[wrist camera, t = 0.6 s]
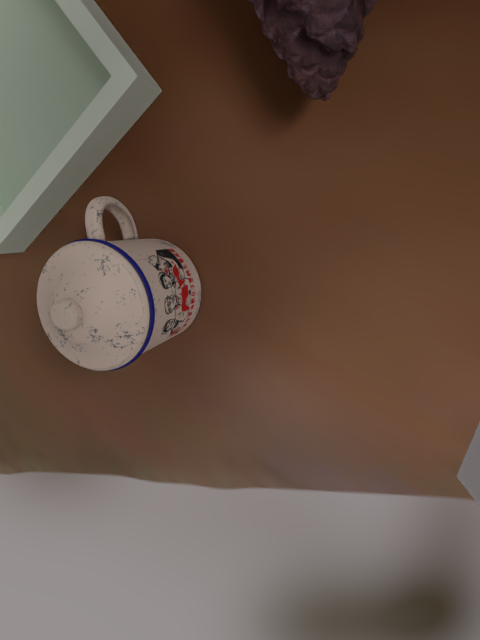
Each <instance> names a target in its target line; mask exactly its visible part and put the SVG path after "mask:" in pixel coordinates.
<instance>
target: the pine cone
mask: <svg viewBox="0 0 480 640" xmlns="http://www.w3.org/2000/svg"><path fill="white" fill-rule="evenodd" d="M248 1H249V2H251V3H252V4H253V5H254V6H255V13H256V15H257V17H258V18H259V19H260V20H261V22H262V32H263V33H264V34H265V36H266V37H267V38H268V39H269V41H270V42H271V44H272V47H273V49H274V51H275V53H276V54H277V56H278V57H279V58H280V59H282V60H285V62H286V63H287V73H288V76H289V77H290V78H292V79H294V81H295V83H296V84H298V85H300V88H301V91H302V92H303V93H304V94H309V97H310V98H311V99H316V100H317V99H321V100H324V101H326V100H327V99H329V98H330V93H331V92H332V91H333V90H335V89H336V87H337V85H338V80H339V76H341V75H343V74H344V71H345V68H346V66H347V61H348V60H349V59H351V58H352V57H354V55H355V53H356V51H357V46H358V43H359V42H360V41H361V40H362V39H363V34H364V28H363V24H362V23H363V21H364V18H365V16H366V15H368V14H369V13H370V12H371V10H372V8H373V6H374V4H375V2H376V1H377V0H248Z"/></svg>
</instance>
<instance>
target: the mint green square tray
mask: <svg viewBox="0 0 480 640" xmlns="http://www.w3.org/2000/svg"><path fill="white" fill-rule="evenodd" d="M161 92H162V90H161V88H160V87H159V86H158V84H157V83H156V82H155V80H154V79H153V78H152V76H151V75H150V74H149V72H148V71H147V70H146V68H145V67H144V66H143V64H142V63H141V62H140V60H139V59H138V58H137V56H136V55H135V54H134V52H133V51H132V50H131V49H130V47H129V46H128V45H127V43H126V42H125V41H124V39H123V38H122V37H121V35H120V34H119V33H118V31H117V30H116V29H115V27H114V26H113V25H112V23H111V22H110V21H109V19H108V18H107V17H106V15H105V14H104V13H103V11H102V10H101V9H100V7H99V6H98V5H97V3H96V2H95V1H94V0H0V254H6V253H19V252H24V251H25V250H26V249H27V248H28V247H29V246H30V244H31V243H32V242H33V241H34V240H35V239H36V237H37V236H38V235H39V234H40V233H41V232H42V230H43V229H44V228H45V227H46V226H47V225H48V223H49V222H50V221H51V220H52V219H53V218H54V216H55V215H56V214H57V213H58V212H59V211H60V209H61V208H62V207H63V206H64V205H65V204H66V202H67V201H68V200H69V199H70V198H71V197H72V195H73V194H74V193H75V192H76V191H77V190H78V189H79V187H80V186H81V185H82V184H83V183H84V182H85V180H86V179H87V178H88V177H89V176H90V175H91V173H92V172H93V171H94V170H95V169H96V168H97V166H98V165H99V164H100V163H101V162H102V161H103V159H104V158H105V157H106V156H107V155H108V154H109V152H110V151H111V150H112V149H113V148H114V147H115V145H116V144H117V143H118V142H119V141H120V140H121V138H122V137H123V136H124V135H125V134H126V133H127V132H128V130H129V129H130V128H131V127H132V126H133V125H134V123H135V122H136V121H137V120H138V119H139V118H140V116H141V115H142V114H143V113H144V112H145V111H146V109H147V108H148V107H149V106H150V105H151V104H152V102H153V101H154V100H155V99H156V98H157V97H158V95H159V94H160V93H161Z"/></svg>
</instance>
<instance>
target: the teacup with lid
mask: <svg viewBox="0 0 480 640" xmlns="http://www.w3.org/2000/svg"><path fill="white" fill-rule="evenodd" d="M104 209H107V210H108V211H109V212H111V213H112V214H113V215H114V217H115V218H116V220H117V221H118V223H119V226H120V229H121V232H122V236H123V240H117V241H106V238H105V234H104V229H103V221H102V216H103V211H104ZM85 226H86V232H87V237H88V239H80V240H76V241H73V242H70V243H68V244H66V245H65V246H63V247H62V248H60V249H59V250H57V251H56V252H55V253H54V254H53V255H52V256H51V257H50V258H49V260H48V261H47V262H46V264H45V266H44V268H43V270H42V272H41V275H40V277H39V281H38V287H37V307H38V313H39V317H40V320H41V323H42V326H43V328H44V330H45V332H46V334H47V336H48V338H49V339H50V341H51V342H52V344H53V345H54V346H55V347H56V349H57V350H58V351H59V352H60V353H61V354H62V355H64V356H65V357H66V358H67V359H69V360H70V361H72V362H73V363H75V364H77V365H79V366H81V367H84V368H87V369H91V370H97V371H110V370H116V369H120V368H123V367H125V366H127V365H129V364H130V363H132V362H133V361H135V360H136V359H137V358H138V357H139V356H140V355H141V354H142V353H144V352H146V351H148V350H150V349H152V348H153V347H155V346H157V345H159V344H161V343H163V342H165V341H167V340H168V339H170V338H172V337H174V336H176V335H178V334H180V333H181V332H183V331H184V330H185V329H186V328H187V327H188V326H189V325H190V324H191V323H192V322H193V320H194V319H195V317H196V315H197V312H198V310H199V306H200V302H201V284H200V279H199V276H198V273H197V270H196V268H195V266H194V265H193V263H192V261H191V260H190V259H189V257H188V256H187V255H186V254H185V253H184V252H183V251H182V250H181V249H180V248H178V247H177V246H175V245H174V244H172V243H170V242H167V241H164V240H161V239H139V238H138V234H137V229H136V226H135V222H134V220H133V218H132V216H131V214H130V212H129V211H128V209H127V208H126V207H125V206H124V205H123V204H122V203H121V202H120V201H118V200H117V199H115V198H112V197H108V196H102V197H97V198H94V199H93V200H91V201H90V203H89V204H88V206H87V209H86V212H85Z"/></svg>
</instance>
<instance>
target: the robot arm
mask: <svg viewBox="0 0 480 640" xmlns="http://www.w3.org/2000/svg"><path fill="white" fill-rule="evenodd" d="M457 478H458V479H459V480H460V482H461V483H462V484H463V485H464V487H465V488H466V489H467V490H468V492H469V493H470V494H471V495H472V497H473V498H474V499H475V500H476V502H477V503H478V504H479V505H480V422H479V424H478V427H477V429H476V432H475V434H474V436H473V439H472V441H471V443H470V446H469V448H468V451H467V453H466V455H465V458H464V460H463V462H462V465H461V467H460V469H459V472H458V474H457Z"/></svg>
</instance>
